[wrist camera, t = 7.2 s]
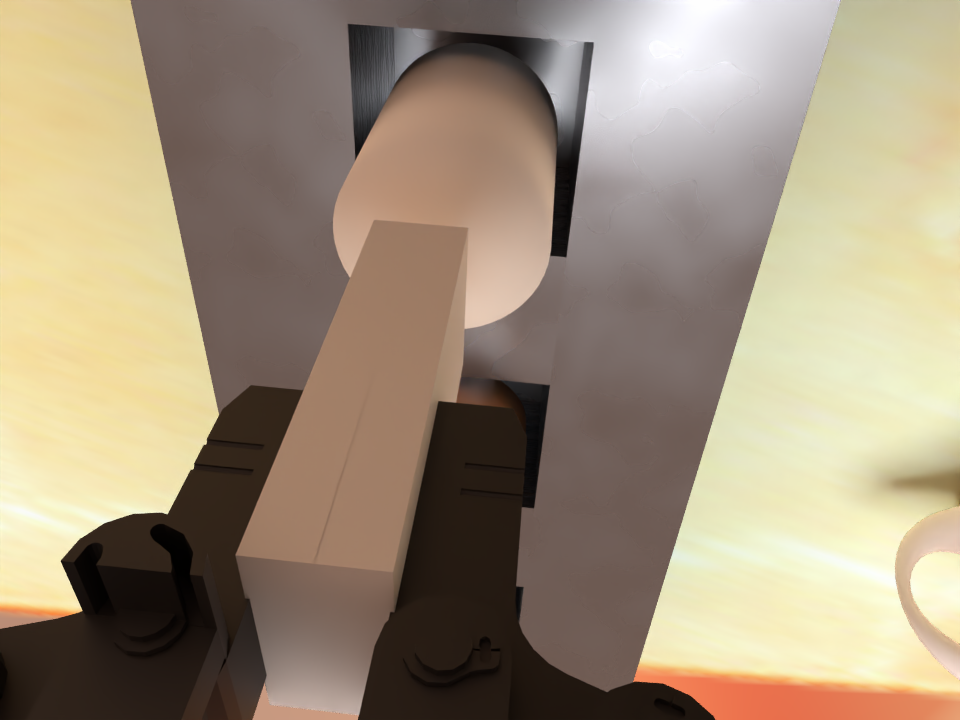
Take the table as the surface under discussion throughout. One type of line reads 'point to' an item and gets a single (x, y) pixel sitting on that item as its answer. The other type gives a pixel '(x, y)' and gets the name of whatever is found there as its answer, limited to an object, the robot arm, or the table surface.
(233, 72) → the panel
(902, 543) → the mug
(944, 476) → the table surface
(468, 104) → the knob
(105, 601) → the robot arm
